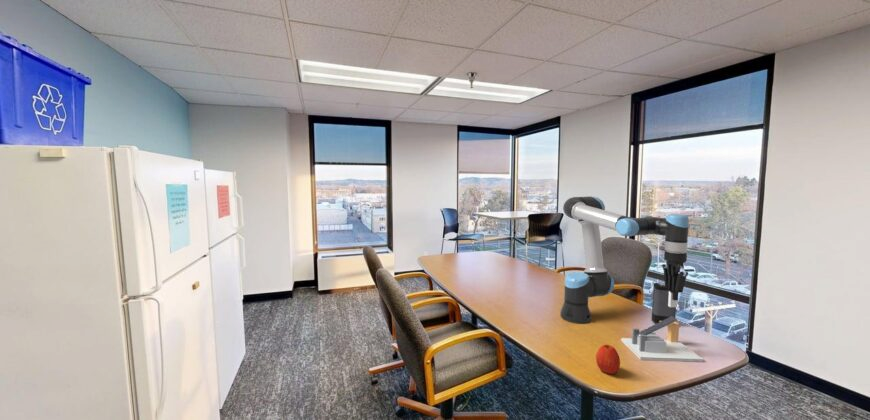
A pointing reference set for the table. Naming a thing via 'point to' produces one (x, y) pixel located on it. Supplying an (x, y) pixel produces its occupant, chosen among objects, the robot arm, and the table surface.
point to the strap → (657, 326)
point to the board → (668, 356)
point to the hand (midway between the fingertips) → (672, 306)
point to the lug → (673, 332)
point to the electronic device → (661, 304)
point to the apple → (608, 359)
